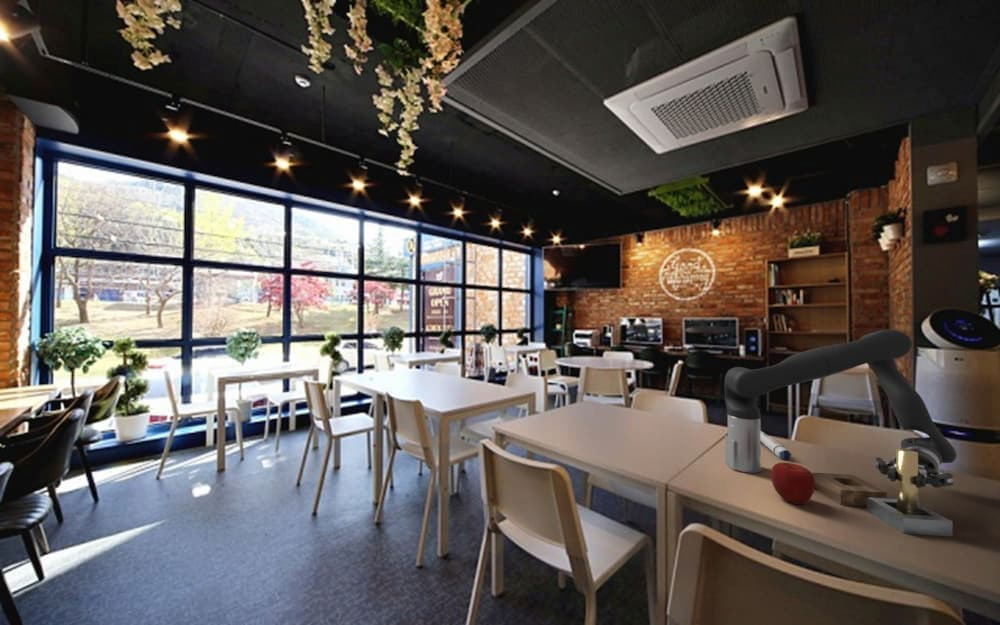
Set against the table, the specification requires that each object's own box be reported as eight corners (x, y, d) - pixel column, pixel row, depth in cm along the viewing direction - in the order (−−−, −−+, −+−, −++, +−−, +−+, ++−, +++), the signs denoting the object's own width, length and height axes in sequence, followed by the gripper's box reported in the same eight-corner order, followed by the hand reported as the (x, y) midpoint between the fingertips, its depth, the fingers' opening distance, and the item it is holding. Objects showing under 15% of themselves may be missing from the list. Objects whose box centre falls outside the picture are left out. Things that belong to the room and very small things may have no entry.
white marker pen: (777, 449, 131) (742, 419, 155) (776, 467, 131) (741, 434, 156) (794, 450, 130) (756, 420, 154) (792, 468, 131) (755, 435, 155)
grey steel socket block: (903, 533, 87) (902, 518, 87) (867, 510, 97) (867, 497, 97) (952, 536, 85) (952, 521, 86) (911, 513, 95) (911, 499, 95)
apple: (824, 511, 97) (823, 472, 97) (783, 508, 98) (783, 470, 98) (800, 493, 106) (800, 458, 106) (763, 491, 107) (763, 456, 108)
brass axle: (906, 519, 90) (905, 453, 90) (892, 511, 93) (891, 447, 93) (923, 520, 89) (922, 454, 89) (909, 512, 93) (908, 448, 93)
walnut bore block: (840, 504, 100) (840, 489, 100) (812, 485, 111) (812, 472, 111) (886, 507, 98) (886, 492, 98) (853, 488, 109) (853, 474, 109)
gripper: (880, 442, 105) (864, 455, 95) (959, 457, 94) (950, 475, 84) (880, 468, 105) (864, 484, 95) (959, 487, 94) (951, 508, 84)
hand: (905, 480), depth 90 cm, fingers closed on brass axle, 3 cm apart
